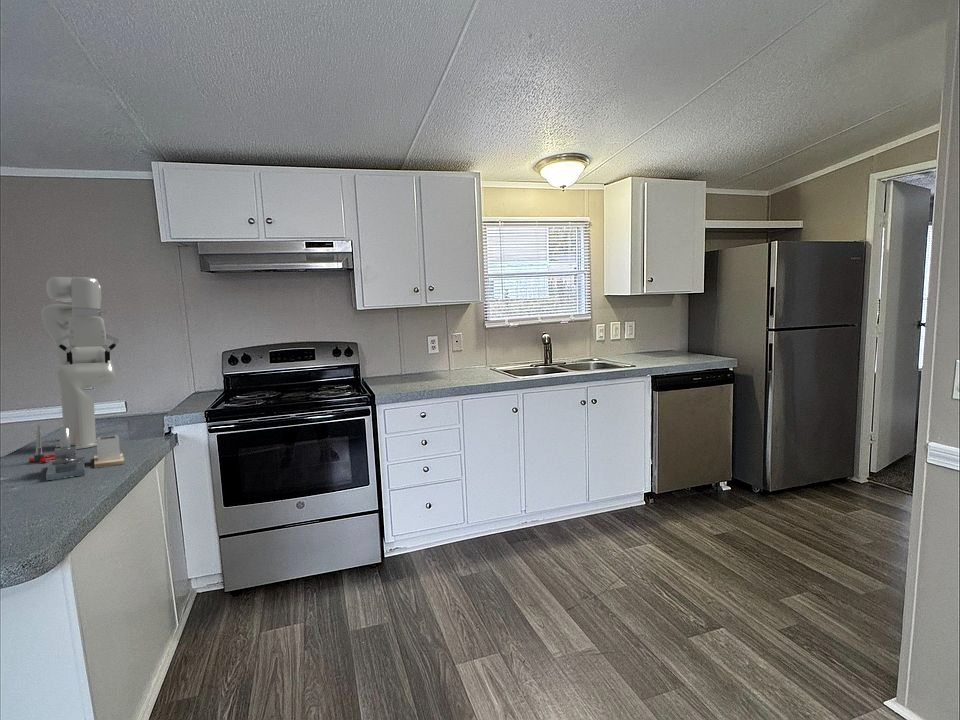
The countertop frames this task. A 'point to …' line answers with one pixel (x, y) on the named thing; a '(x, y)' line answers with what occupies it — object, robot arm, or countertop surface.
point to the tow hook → (40, 450)
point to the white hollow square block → (108, 448)
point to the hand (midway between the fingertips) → (89, 363)
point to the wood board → (108, 461)
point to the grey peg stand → (65, 459)
